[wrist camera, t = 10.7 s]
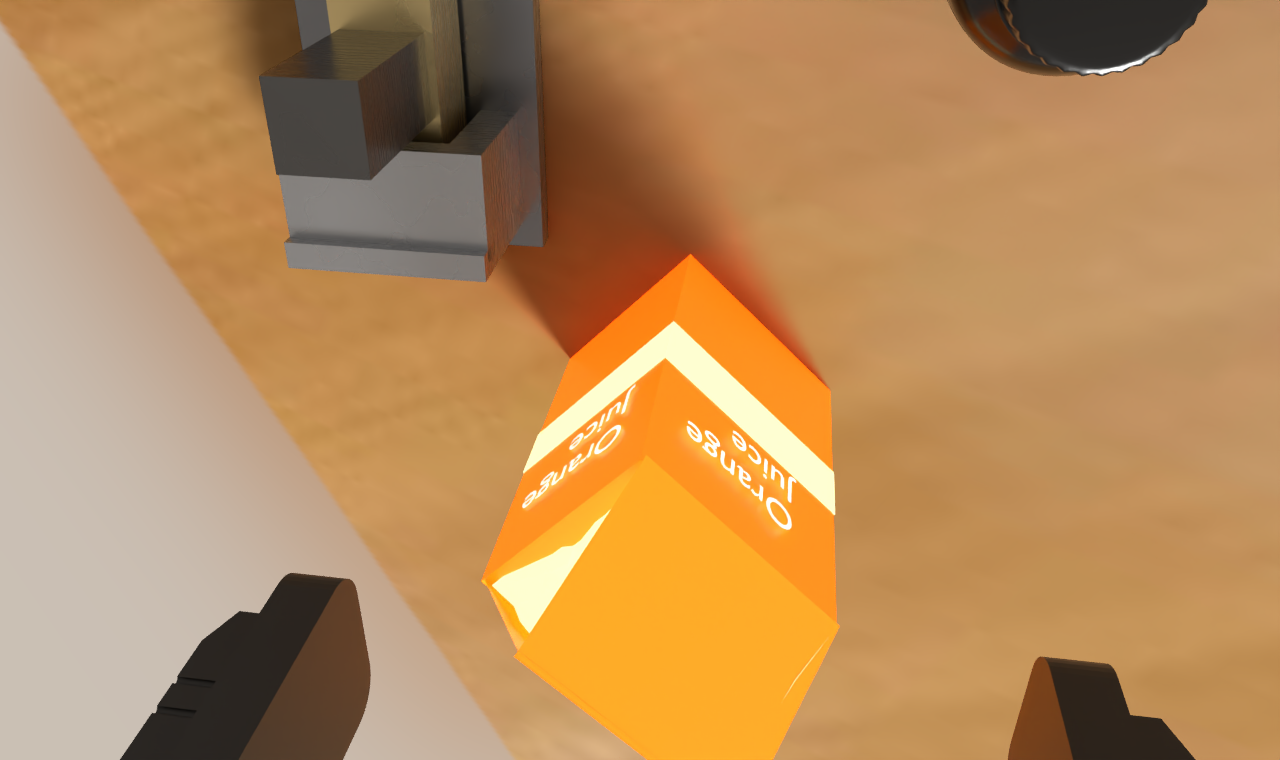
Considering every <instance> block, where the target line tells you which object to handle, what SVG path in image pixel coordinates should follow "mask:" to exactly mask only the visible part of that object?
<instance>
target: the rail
mask: <svg viewBox="0 0 1280 760" xmlns="http://www.w3.org/2000/svg"><path fill="white" fill-rule="evenodd" d="M295 5H296V11H297V18H298V24H299V30H300V37H301V43H302V50H304V49H306V48H307V47H309V46H311V45H312V44H314V43H316V42H318V41H319V40H321V39H323V38H324V37H326V36H328V35H330V34H331V31H330V24H329V17H328V10H327V3H326V0H295ZM457 5H458V17H459V30H460V43H461V56H462V69H463V82H464V94H465V107H466V120H467V126H466V127H465V128H464V129H463V130H462V131H461V132H460V133H459V134H458V135H457V136H456V138H455V139H454V140H453V141H452V142H451V143H450V144H445V143H427V142H410V143H409V144H408V145H407V146H406V147H405V148H404V149H402V150H401V151H400V152H399V153H398V154H397V155H396V156H395V157H394V158H393V159H392V160H391V161H390V162H389V163H388V164H387V165H386V166H385V167H384V168H383V169H382V170H381V171H380V172H379V173H378V174H377V175H376V176H375V177H374V178H373V179H372V180H356V179H339V178H323V177H307V176H291V175H279V178H280V183H281V189H282V195H283V200H284V206H285V211H286V217H287V223H288V228H289V234H290V237H289V238H288V239H287V240H286V241H285V242H284V245H285V250H286V256H287V261H288V267H289V268H299V269H312V270H326V271H340V272H354V273H367V274H381V275H395V276H408V277H422V278H436V279H450V280H463V281H477V282H486V281H487V280H488V278H489V276H490V275H491V273H492V272H493V270H494V268H495V267H496V265H497V263H498V262H499V260H500V259H501V257H502V255H503V254H504V252H505V250H506V249H507V247H508V246H509V245H520V246H535V247H543V246H544V244H545V243H546V241H547V239H548V216H547V190H546V164H545V138H544V112H543V87H542V61H541V35H540V9H539V0H457Z"/></svg>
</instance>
